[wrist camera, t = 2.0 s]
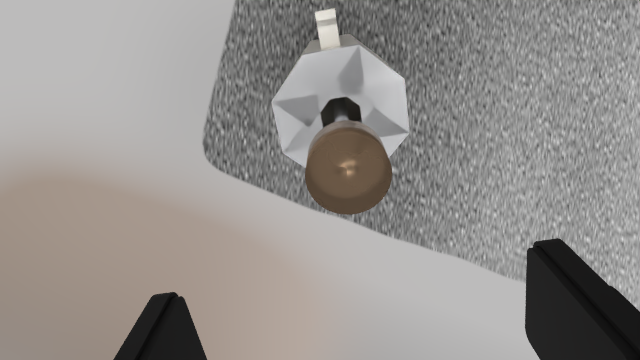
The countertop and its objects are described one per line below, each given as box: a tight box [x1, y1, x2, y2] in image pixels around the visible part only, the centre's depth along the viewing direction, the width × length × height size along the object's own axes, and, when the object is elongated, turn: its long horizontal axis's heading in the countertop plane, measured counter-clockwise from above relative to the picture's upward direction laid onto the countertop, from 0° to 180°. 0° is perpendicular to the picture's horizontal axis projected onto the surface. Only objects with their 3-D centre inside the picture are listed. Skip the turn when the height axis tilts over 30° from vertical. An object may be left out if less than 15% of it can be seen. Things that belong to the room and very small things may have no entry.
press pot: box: [272, 8, 409, 168], centre depth 34 cm, size 12×9×13 cm
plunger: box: [305, 97, 392, 214], centre depth 27 cm, size 4×4×17 cm
